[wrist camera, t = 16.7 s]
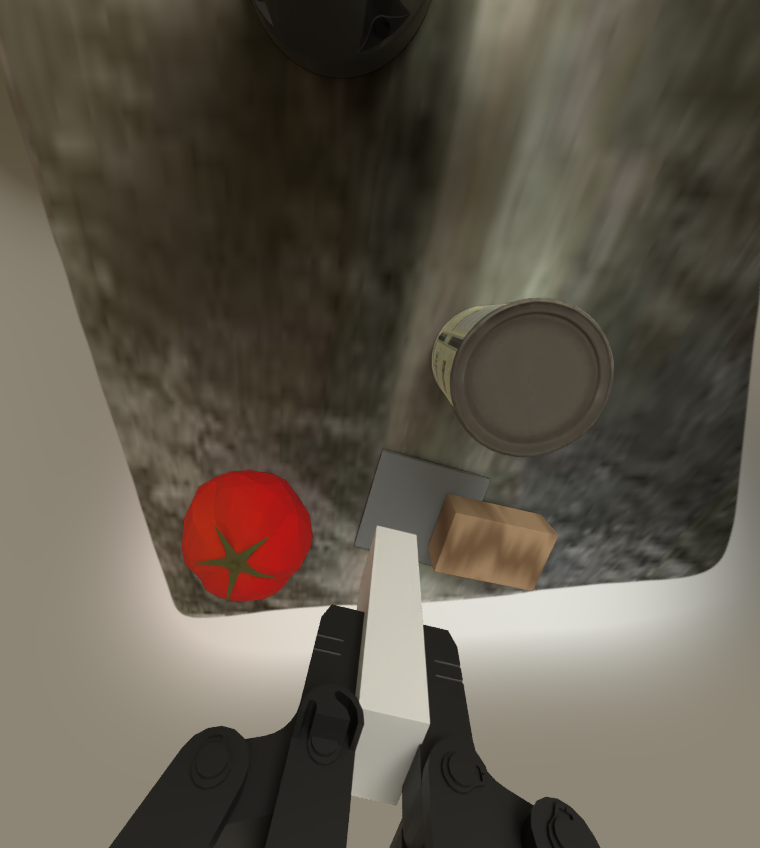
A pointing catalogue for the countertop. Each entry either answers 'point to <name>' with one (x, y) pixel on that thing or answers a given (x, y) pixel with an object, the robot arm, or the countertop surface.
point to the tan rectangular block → (490, 542)
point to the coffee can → (524, 374)
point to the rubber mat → (413, 498)
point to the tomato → (245, 535)
